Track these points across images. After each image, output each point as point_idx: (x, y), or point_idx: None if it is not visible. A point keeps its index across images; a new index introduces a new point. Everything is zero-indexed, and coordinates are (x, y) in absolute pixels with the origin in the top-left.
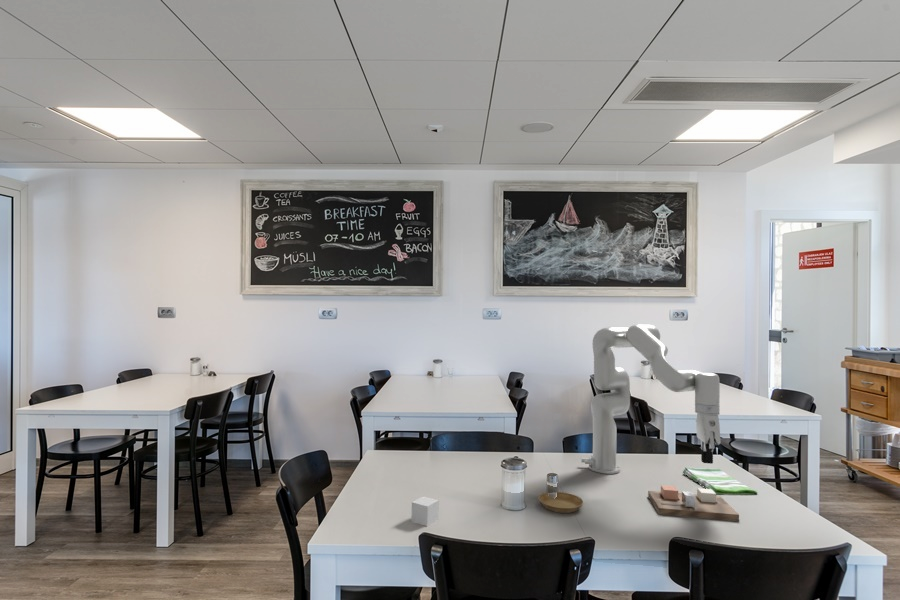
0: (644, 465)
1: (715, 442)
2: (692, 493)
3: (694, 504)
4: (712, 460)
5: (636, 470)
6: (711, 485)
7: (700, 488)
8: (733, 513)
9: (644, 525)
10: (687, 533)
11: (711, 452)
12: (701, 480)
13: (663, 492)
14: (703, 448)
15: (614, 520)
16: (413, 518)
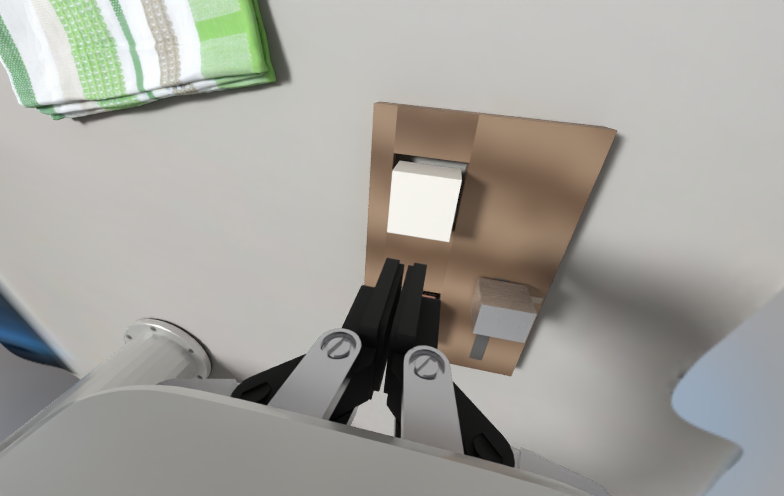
0: (54, 227)
1: (391, 438)
2: (503, 309)
3: (528, 294)
4: (423, 278)
5: (128, 273)
6: (222, 74)
7: (391, 220)
8: (597, 151)
9: (581, 417)
10: (662, 354)
11: (414, 341)
12: (156, 89)
13: None
14: (358, 404)
15: (540, 452)
16: None
